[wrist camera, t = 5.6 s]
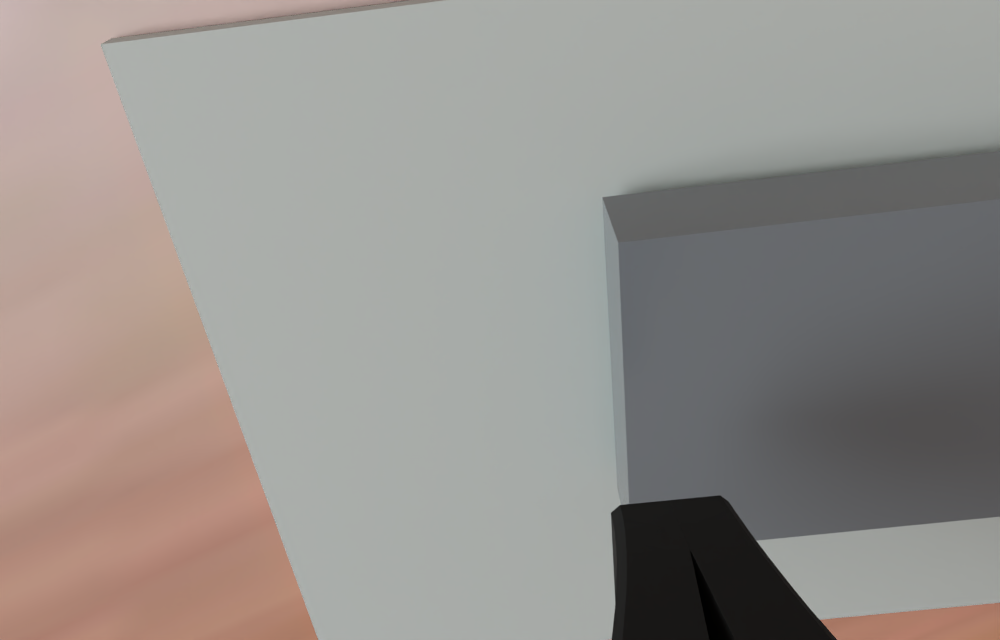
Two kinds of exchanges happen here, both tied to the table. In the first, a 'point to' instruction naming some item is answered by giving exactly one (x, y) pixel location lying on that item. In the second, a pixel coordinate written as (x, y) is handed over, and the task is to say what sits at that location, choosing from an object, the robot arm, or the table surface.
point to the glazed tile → (811, 345)
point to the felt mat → (509, 270)
